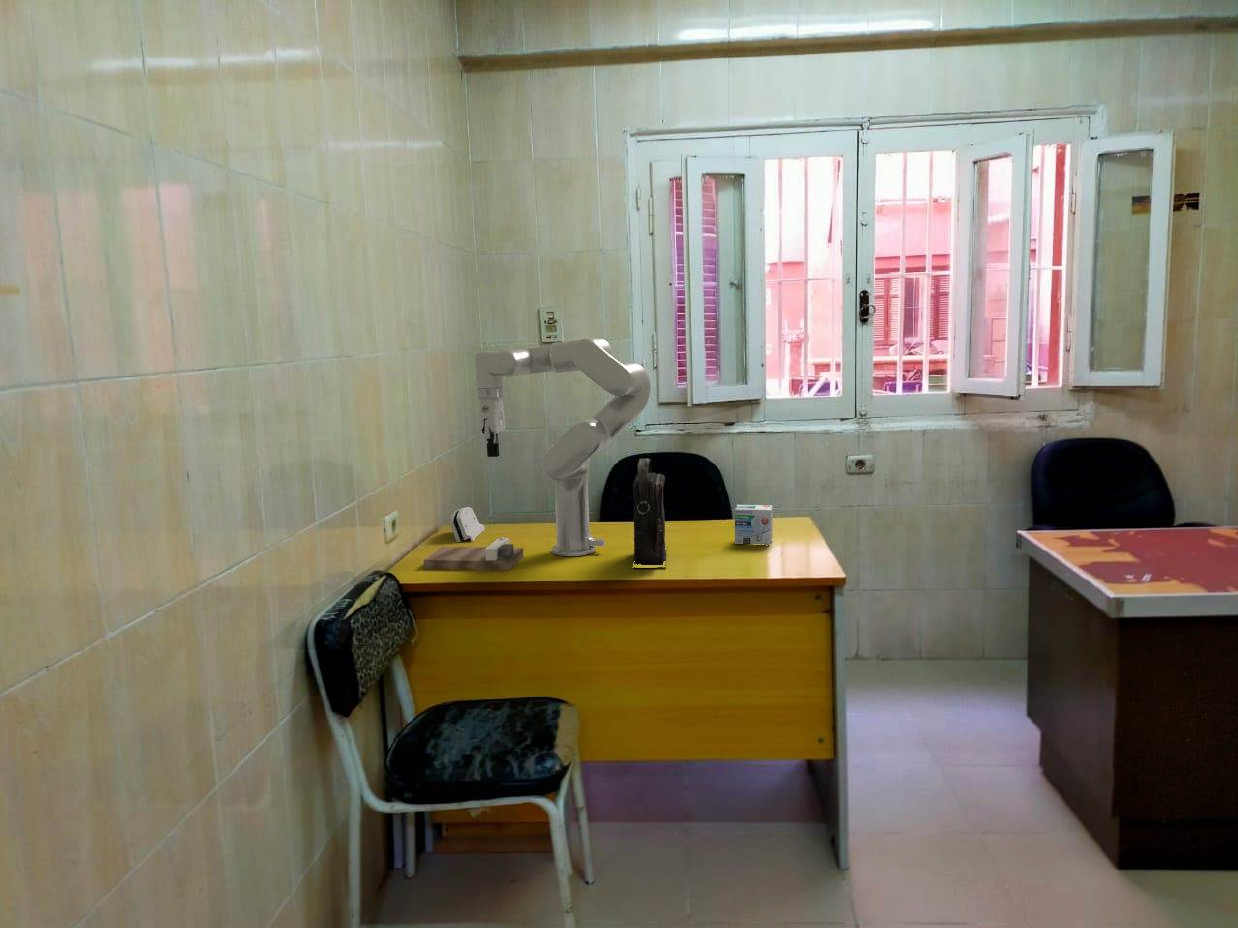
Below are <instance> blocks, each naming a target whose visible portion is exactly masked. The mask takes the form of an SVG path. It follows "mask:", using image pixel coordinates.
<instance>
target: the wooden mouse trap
mask: <svg viewBox="0 0 1238 928" xmlns="http://www.w3.org/2000/svg"><path fill="white" fill-rule="evenodd" d="M486 548H487V547H473V546H472V547H470V546H469V547H465V546H462V547H461V546H458V547H457V546H441V547H440V548H438V549H437V550H436V551H434V552H432V553H431V554H430V555H428V556H427V557H426V558H424V559H423V569H424V570H425V569H426V570H428V569H429V570H463V571H464V570H465V571H466V570H468V571H469V570H470V571H471V570H472V571H476V570H477V571H510V570H511V569H512V568H513V567H514V566H515V565H516V564H517V563H519V562H520V561H522V559H523V558H524V548H522V547H514V544H513V543H512V544H511V543H509V544H504V545H503V546H501V547H500V548H499V559H498V560H486V557H485V549H486Z"/></svg>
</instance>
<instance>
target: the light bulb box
mask: <svg viewBox="0 0 1238 928" xmlns="http://www.w3.org/2000/svg"><path fill="white" fill-rule="evenodd" d="M773 507H774V506H773V504H772V505H771V504H767V505H764V504H736V507H735V508H734V545H735V544H761V545H762V544H764V545H770V544H771V545H772V543H771V542H773V541H772V539H773V537H774V536H773V528H774V527H773V526H774V525H773V522H774V519H773V517H774V515H773V514H774V513H773V511H774V508H773Z"/></svg>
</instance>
